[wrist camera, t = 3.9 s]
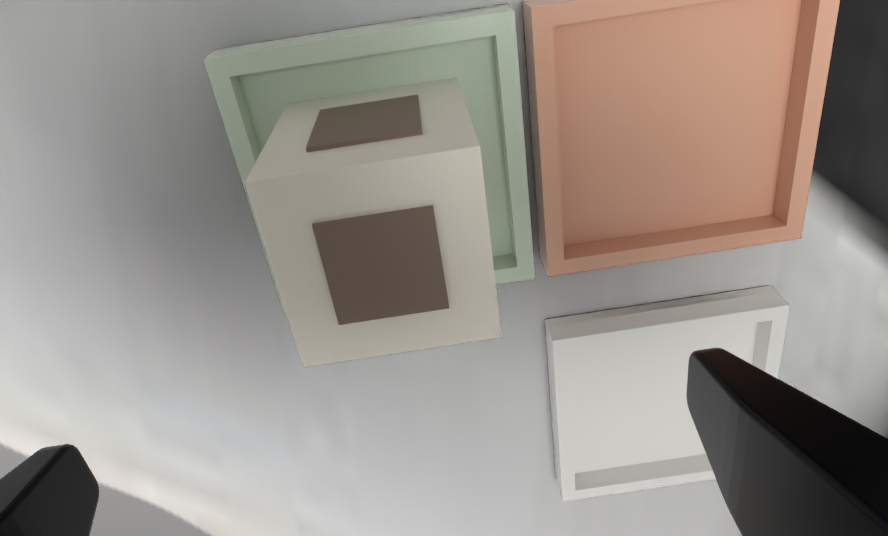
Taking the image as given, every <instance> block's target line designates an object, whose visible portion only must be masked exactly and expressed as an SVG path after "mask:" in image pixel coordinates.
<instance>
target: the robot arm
mask: <svg viewBox="0 0 888 536" xmlns="http://www.w3.org/2000/svg"><path fill="white" fill-rule="evenodd" d="M686 397H687V404H688V408H689V411H690V414H691V417H692V419H693V422H694V424H695V427H696V429H697V432H698V434H699V437H700V439H701V442H702V445H703V447H704V450H705V452H706V455H707V457H708V460H709V462H710V465H711V467H712V470H713V472H714V475H715V478H716V480H717V483H718V485H719V488H720V490H721V493H722V495H723V497H724V500H725V502H726V504H727V507H728V509H729V511H730V513H731V515H732V517H733V519H734V521H735V523H736V525H737V526H738V528H739V530H740V532H741V534H742V536H888V439H887V438H885V437H883V436H881V435H880V434H878V433H876V432H874V431H872V430H870V429H869V428H867V427H865V426H863V425H861V424H860V423H858V422H856V421H854V420H852V419H850V418H849V417H847V416H845V415H843V414H841V413H839V412H838V411H836V410H834V409H832V408H830V407H829V406H827V405H825V404H823V403H821V402H819V401H818V400H816V399H814V398H812V397H810V396H808V395H807V394H805V393H803V392H801V391H799V390H798V389H796V388H794V387H792V386H790V385H788V384H787V383H785V382H783V381H781V380H779V379H777V378H776V377H774V376H772V375H770V374H768V373H767V372H765V371H763V370H761V369H759V368H757V367H756V366H754V365H752V364H750V363H748V362H746V361H745V360H743V359H741V358H739V357H737V356H736V355H734V354H732V353H730V352H728V351H726V350H724V349H722V348H710V349H703V350H696V351H694V352H692V353H691V355H690V357H689V363H688V378H687V392H686ZM98 498H99V487H98V483H97V480H96V479H95V477H94V475H93V473H92V472H91V470H90V468H89V467H88V465H87V463H86V462H85V460H84V458H83V457H82V455H81V453H80V452H79V450H78V449H77V448H76V447H75V446H73V445H70V444H64V445H57V446H51V447H45V448H42V449H40V450H38V451H37V452H36V453H34V454H33V455H32V456H30V457H29V458H28V459H26V460H25V461H24V462H22V463H21V464H20V465H19V466H17V467H16V468H14V469H13V470H12V471H11V472H9V473H8V474H6V475H5V476H4V477H2V478H1V479H0V536H89V535H90V531H91V527H92V523H93V519H94V515H95V511H96V507H97V503H98Z"/></svg>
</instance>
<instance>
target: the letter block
mask: <svg viewBox="0 0 888 536" xmlns="http://www.w3.org/2000/svg"><path fill="white" fill-rule="evenodd" d="M244 183H245V186H246V189H247V192H248V195H249V198H250V201H251V205H252V208H253V211H254V214H255V217H256V220H257V223H258V227H259V230H260V233H261V236H262V239H263V242H264V246H265V249H266V252H267V255H268V258H269V261H270V264H271V268H272V271H273V274H274V277H275V280H276V283H277V287H278V290H279V293H280V296H281V299H282V302H283V305H284V309H285V312H286V315H287V318H288V321H289V324H290V327H291V331H292V334H293V337H294V340H295V343H296V346H297V350H298V353H299V356H300V359H301V362H302V365H303V368H304V367H310V366H317V365H324V364H330V363H337V362H343V361H350V360H357V359H363V358H370V357H377V356H383V355H390V354H396V353H403V352H410V351H416V350H423V349H430V348H436V347H443V346H449V345H456V344H463V343H469V342H476V341H483V340H489V339H496V338H502V335H501V326H500V318H499V309H498V300H497V291H496V282H495V274H494V265H493V256H492V247H491V238H490V230H489V221H488V212H487V203H486V194H485V186H484V177H483V168H482V159H481V150H480V145H479V142H478V139H477V136H476V133H475V130H474V127H473V124H472V122H471V119H470V116H469V113H468V110H467V107H466V104H465V101H464V99H463V96H462V93H461V90H460V87H459V84H458V81H457V78H456V77H455V78H449V79H443V80H436V81H430V82H423V83H417V84H411V85H404V86H398V87H391V88H385V89H379V90H372V91H366V92H359V93H353V94H346V95H340V96H334V97H327V98H321V99H314V100H308V101H302V102H295V103H289V104H287V106H286V108H285V109H284V111H283V113H282V115H281V117H280V118H279V120H278V122H277V124H276V126H275V128H274V129H273V131H272V133H271V135H270V137H269V138H268V140H267V142H266V144H265V146H264V148H263V149H262V151H261V153H260V155H259V157H258V159H257V160H256V162H255V164H254V166H253V168H252V169H251V171H250V173H249V175H248V177H247V179H246V180H245V182H244Z"/></svg>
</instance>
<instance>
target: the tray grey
mask: <svg viewBox="0 0 888 536" xmlns="http://www.w3.org/2000/svg"><path fill="white" fill-rule="evenodd" d="M789 309H790V304H789V303H788V302H787V301H786V300H785V299H784V298H783V297H782V296H781V295H780V294H779V293H778V292H777V291H776V290H775V289H774V288H773V287H772V286H771V285H770V286H764V287H757V288H750V289H744V290H737V291H731V292H724V293H717V294H711V295H704V296H698V297H691V298H684V299H678V300H671V301H664V302H658V303H651V304H645V305H638V306H631V307H625V308H618V309H612V310H605V311H598V312H592V313H585V314H578V315H572V316H565V317H559V318H552V319H545V329H546V343H547V358H548V372H549V386H550V400H551V414H552V429H553V443H554V457H555V471H556V479H557V483H558V486H559V490H560V493H561V497H562V501H570V500H577V499H583V498H590V497H597V496H604V495H611V494H617V493H624V492H631V491H638V490H644V489H651V488H658V487H665V486H672V485H678V484H685V483H692V482H699V481H705V480H712V479H716V478H715V475H714V472H713V470H712V467H711V465H710V462H709V460H708V457H707V455H706V452H705V450H704V447H703V445H702V442H701V439H700V437H699V434H698V432H697V429H696V427H695V424H694V422H693V419H692V417H691V414H690V411H689V408H688V404H687V397H686V392H687V378H688V363H689V357H690V355H691V353H692V352H694V351H696V350H703V349H710V348H722V349H724V350H726V351H728V352H730V353H732V354H734V355H736V356H737V357H739V358H741V359H743V360H745V361H746V362H748V363H750V364H752V365H754V366H756V367H757V368H759V369H761V370H763V371H765V372H767V373H768V374H770V375H772V376H774V377H776V378H777V379H778V376H779V370H780V364H781V358H782V352H783V345H784V339H785V333H786V327H787V321H788V315H789Z"/></svg>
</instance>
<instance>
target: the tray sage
mask: <svg viewBox="0 0 888 536" xmlns="http://www.w3.org/2000/svg"><path fill="white" fill-rule="evenodd" d="M203 62H204V65H205V68H206V71H207V74H208V77H209V81H210V84H211V87H212V90H213V93H214V96H215V99H216V102H217V106H218V109H219V112H220V115H221V118H222V121H223V124H224V127H225V131H226V134H227V137H228V140H229V143H230V146H231V149H232V153H233V156H234V159H235V162H236V165H237V168H238V171H239V174H240V178H241V181H242V184H243V187H244V190H245V193H246V196H247V199H248V203H249V206H250V209H251V212H252V215H253V218H254V221H255V225H256V228H257V231H258V234H259V237H260V240H261V243H262V246H263V250H264V253H265V256H266V259H267V262H268V265H269V268H270V271H271V275H272V278H273V281H274V284H275V287H276V290H277V293H278V297H279V300H280V303H281V306H282V309H283V312H284V315H285V317H287V315H286V312H285V309H284V305H283V302H282V299H281V296H280V293H279V290H278V287H277V283H276V280H275V277H274V274H273V271H272V268H271V264H270V261H269V258H268V255H267V252H266V249H265V246H264V242H263V239H262V236H261V233H260V230H259V227H258V223H257V220H256V217H255V214H254V211H253V208H252V205H251V201H250V198H249V195H248V192H247V189H246V186H245V183H244V182H245V180H246V179H247V177H248V175H249V173H250V171H251V169H252V168H253V166H254V164H255V162H256V160H257V159H258V157H259V155H260V153H261V151H262V149H263V148H264V146H265V144H266V142H267V140H268V138H269V137H270V135H271V133H272V131H273V129H274V128H275V126H276V124H277V122H278V120H279V118H280V117H281V115H282V113H283V111H284V109H285V108H286V106H287V104H289V103H295V102H302V101H308V100H314V99H321V98H327V97H334V96H340V95H346V94H353V93H359V92H366V91H372V90H379V89H385V88H391V87H398V86H404V85H411V84H417V83H423V82H430V81H436V80H443V79H449V78H455V77H456V78H457V81H458V84H459V87H460V90H461V93H462V96H463V99H464V101H465V104H466V107H467V110H468V113H469V116H470V119H471V122H472V124H473V127H474V130H475V133H476V136H477V139H478V142H479V145H480V150H481V159H482V168H483V177H484V186H485V194H486V203H487V212H488V221H489V230H490V238H491V247H492V256H493V265H494V274H495V282H496V285H498V284H505V283H511V282H518V281H524V280H531V279H535V271H534V258H533V244H532V231H531V218H530V205H529V192H528V179H527V166H526V153H525V140H524V127H523V114H522V101H521V88H520V75H519V62H518V49H517V36H516V23H515V10H514V9H513V8H511V7H510V6H509V5H508V4H501V5H495V6H488V7H482V8H476V9H469V10H463V11H457V12H450V13H444V14H437V15H431V16H425V17H418V18H412V19H406V20H399V21H393V22H387V23H380V24H374V25H367V26H361V27H355V28H348V29H342V30H336V31H329V32H323V33H317V34H310V35H304V36H298V37H291V38H285V39H278V40H272V41H266V42H259V43H253V44H247V45H240V46H234V47H228V48H221V49H215V50H214V51H212V52H211V53H210V54H209V55H207V56H206V57H205V58H204V59H203Z"/></svg>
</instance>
